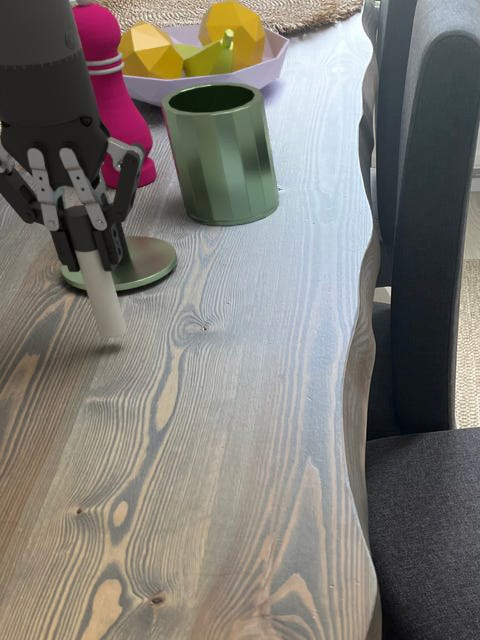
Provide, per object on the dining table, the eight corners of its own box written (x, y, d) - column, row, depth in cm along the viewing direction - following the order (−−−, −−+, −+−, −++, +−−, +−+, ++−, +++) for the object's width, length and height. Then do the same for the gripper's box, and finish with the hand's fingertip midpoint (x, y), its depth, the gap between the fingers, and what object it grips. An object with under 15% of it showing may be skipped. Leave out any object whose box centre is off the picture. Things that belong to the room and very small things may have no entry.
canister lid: (50, 298, 101) (28, 237, 96) (82, 248, 109) (64, 189, 104) (165, 296, 100) (149, 234, 96) (188, 245, 109) (175, 187, 104)
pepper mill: (130, 195, 119) (78, -1, 105) (87, 183, 122) (31, -9, 107) (173, 174, 123) (129, -17, 109) (131, 164, 126) (82, -24, 112)
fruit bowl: (104, 78, 151) (81, -10, 143) (284, 59, 155) (272, -27, 147) (106, 142, 132) (79, 45, 123) (311, 118, 136) (299, 23, 128)
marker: (96, 338, 91) (58, 217, 83) (103, 325, 93) (67, 204, 85) (123, 338, 91) (88, 216, 83) (130, 324, 93) (96, 204, 85)
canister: (177, 226, 112) (151, 116, 104) (196, 189, 120) (172, 83, 111) (272, 224, 112) (253, 113, 104) (284, 187, 119) (268, 81, 111)
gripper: (133, 30, 78) (182, 248, 90) (-45, 32, 78) (28, 250, 91) (108, 59, 73) (164, 287, 85) (-83, 62, 73) (0, 289, 85)
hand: (94, 267), depth 88 cm, fingers closed on marker, 2 cm apart
